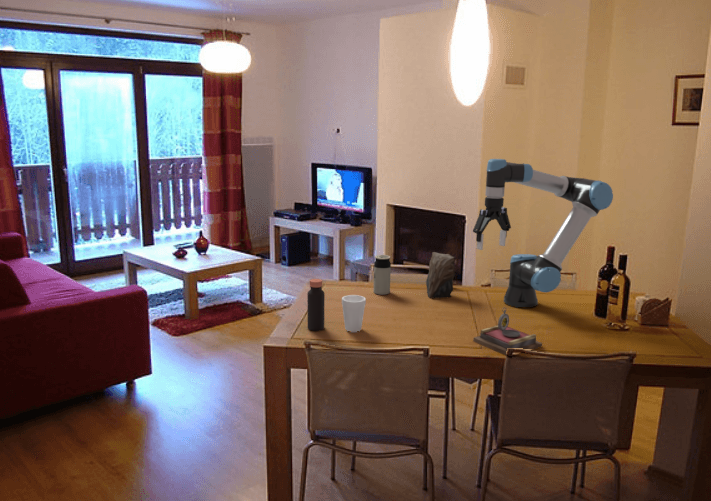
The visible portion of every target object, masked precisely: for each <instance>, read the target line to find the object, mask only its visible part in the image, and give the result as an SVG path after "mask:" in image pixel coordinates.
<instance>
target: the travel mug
mask: <svg viewBox="0 0 711 501" xmlns="http://www.w3.org/2000/svg"><path fill="white" fill-rule="evenodd" d="M374 259H375V261H374V263H373V293H374V294H375V295H381V296H382V295H383V296H385V295H388V294H390V293H391V269H392V268H391V267H392V263H391V261H390V259H391V256H390V255H387V254H377V255H374Z"/></svg>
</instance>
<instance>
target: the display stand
mask: <svg viewBox="0 0 711 501" xmlns="http://www.w3.org/2000/svg"><path fill="white" fill-rule="evenodd" d="M502 326H503V325H502ZM505 330H515V331H518V332H520V336H519V337H507V336H504V335H503V334H502V331H501V330H499V328H498V324H497V325H494V326H491V327H487V328H483V329H480V332H479V335H477V336H474V337H473V338H472V339H473V340H472V342H474V343H477V344H479V345H481V346H483V347H485V348H488V349H490V350H493V351H495V352H497V353H499V354H501V355H504V356H506V351H507V348H523V349H534V350H537V349H539V348H538V347H540V348H542V347H543V342H541V341H538V340H537V334H535V333H532V334H528V333H525V332H523V331H520V330H518V329H516V328H513V327H510V326H509V325H508V326H507V328H506V329H505ZM541 346H542V347H541Z"/></svg>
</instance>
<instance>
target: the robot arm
mask: <svg viewBox="0 0 711 501" xmlns="http://www.w3.org/2000/svg"><path fill="white" fill-rule="evenodd" d="M485 182H486V183H485V196H486V197H485V198H484V207H485V209H479V212H478V213H479V214H478V217H477V219H476V222H475V224H474V227H473V230H472V233H474V234H476V235H475V236H476V238H475V242H476V249H477V250H480V251H483V250H484V248H483V246H484V231H485V230H486V229H487V226H488V225H489V224H490V223H489V222H491V221H494V220H496V221H497V224H498V225H499V226H500V231H499V240H498V241H499V242H498V245H499V246H501V247H506V239H507V236H508V235H507V234H508V232H509V231H510V229H512V227H511V222H510V219H509V215H508V208H507V207H504V200H505V199H504V197H505V186H506V183H515V184H519V185H522V186H526V187H529V188H534V189H537V190H541V191H545V192H548V193H552V194H554V196H556V197H558V198H562V199H563V200H566V201H569V202H571V205H572V209H571V210H570V212H569V213H568V215H567V216H566V218H565V220H564V221H563V223H562V224H561V226H560V227H559V229H558V230H557V232H556V233H555V235H554V236H553V238H552V240H551V241H550V243H549V244H548V246H547V247H546V249H545V251H544V252H543V253H542V254H541V253H540V254H538V255H536V254H529V253H527V254H526V253H519V254H518V253H517V254H513V255H511V257H510V261H509V264H510V266H509V276H508V277H509V279H508V286H507V289H506V291H505V294H504V296H503V303H504V302H505V303H506V304H505V303H504V304H505V305H507V304H508V305H507V306H509V305H511V306H510V307H513V306H515V307H514V308H518V307H533V306H536V305H537V306H538V298H537V297H538V296H537V292H541V293H549V292H550V293H551V292H552V291H555V289H557V288H558V287H559V286H560V283H561V281H562V278H561V277H562V274H561V272H562V270H563V266H562V263H563V262H564V260H565V259H566V257H567V256H568V254H569V253H570V252H571V249H572V247H574V244H576V242H577V240H578V238H579V237H580V235H581V234H582V232H583V231H584V229H585V227H586V226H587V224H588V223H589V222H590V220H591V218H593V217H597V216H598V214H599V212H600V211H602V210H606V209H608V208H609V207H610V206H611V204H612V202H613V200H614V193H613V188H612V187H611V186H610V185H609V183H607V182H605V181H601V180H595V179H588V178H585V177H584V178H581V177H572V176H571V177H570V176H566V175H560V176H558V175H555V174H554V175H553V174H551V173H546V172H544V171H540V170H535V169H533V166H532V165H531V164H529V163H515V162H508V161H507V159H503V158H490V159H489V160H488V161H487V165H486V178H485ZM536 291H537V292H536ZM537 306H536V307H537ZM533 308H534V307H533Z"/></svg>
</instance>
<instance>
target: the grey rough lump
mask: <svg viewBox="0 0 711 501" xmlns="http://www.w3.org/2000/svg"><path fill="white" fill-rule="evenodd" d="M455 260H456V257H455V256H453V255H451V254H450V253H446V254H445V253H439V252H435V251H432V253H431V258H430V260H429V264H428V265H429V266H428V273H427V278H426V279H425V280H426V282H425V283H426V284H425V285H426V293H427V297H428V299H430V300H431V299H444V298H447V297H448V298H452V293H453V292H454V282H453V281H454V278H455V276H456V272H455V268H456V266H455Z"/></svg>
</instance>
